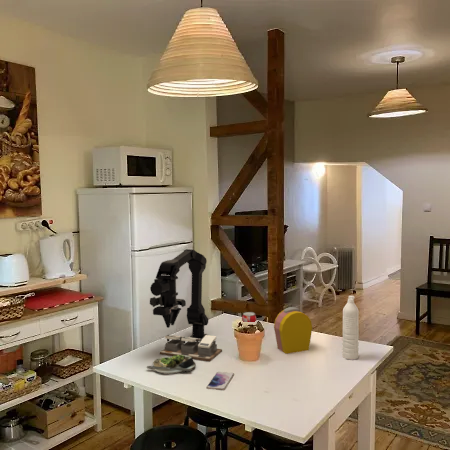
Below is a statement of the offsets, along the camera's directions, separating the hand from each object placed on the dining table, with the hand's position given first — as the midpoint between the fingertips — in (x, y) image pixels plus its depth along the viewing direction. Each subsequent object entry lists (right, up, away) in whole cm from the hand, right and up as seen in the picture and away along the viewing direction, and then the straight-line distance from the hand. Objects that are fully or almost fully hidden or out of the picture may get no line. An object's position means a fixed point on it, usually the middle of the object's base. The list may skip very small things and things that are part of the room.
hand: (170, 326), depth 203 cm
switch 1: (+1, -6, +4) cm, 7 cm away
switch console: (+9, -12, +1) cm, 15 cm away
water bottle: (+77, -12, -6) cm, 78 cm away
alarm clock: (+54, -11, +4) cm, 55 cm away
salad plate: (+4, -14, -14) cm, 20 cm away
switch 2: (+16, -6, -3) cm, 17 cm away
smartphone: (+22, -15, -29) cm, 39 cm away
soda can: (+35, -10, +20) cm, 42 cm away
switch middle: (+9, -6, +1) cm, 11 cm away
